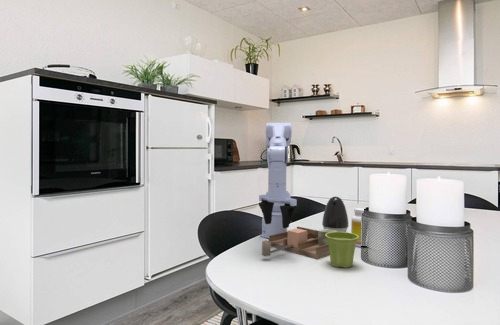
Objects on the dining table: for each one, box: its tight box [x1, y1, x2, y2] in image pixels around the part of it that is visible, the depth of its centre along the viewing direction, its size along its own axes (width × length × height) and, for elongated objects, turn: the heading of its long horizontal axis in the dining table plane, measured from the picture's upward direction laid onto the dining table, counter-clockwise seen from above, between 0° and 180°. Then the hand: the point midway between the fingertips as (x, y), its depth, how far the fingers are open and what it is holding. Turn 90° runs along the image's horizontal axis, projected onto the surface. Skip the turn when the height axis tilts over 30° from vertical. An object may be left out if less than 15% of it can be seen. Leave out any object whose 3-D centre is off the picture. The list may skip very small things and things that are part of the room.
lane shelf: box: [268, 226, 338, 260], centre depth 120 cm, size 20×16×6 cm
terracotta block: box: [261, 228, 307, 257], centre depth 111 cm, size 4×19×5 cm, turn 134°
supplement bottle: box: [350, 207, 365, 248], centre depth 123 cm, size 7×7×13 cm
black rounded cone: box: [321, 196, 349, 232], centre depth 139 cm, size 10×10×15 cm
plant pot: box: [325, 231, 359, 269], centre depth 102 cm, size 9×9×9 cm
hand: (276, 225), depth 112 cm, fingers open, 7 cm apart
